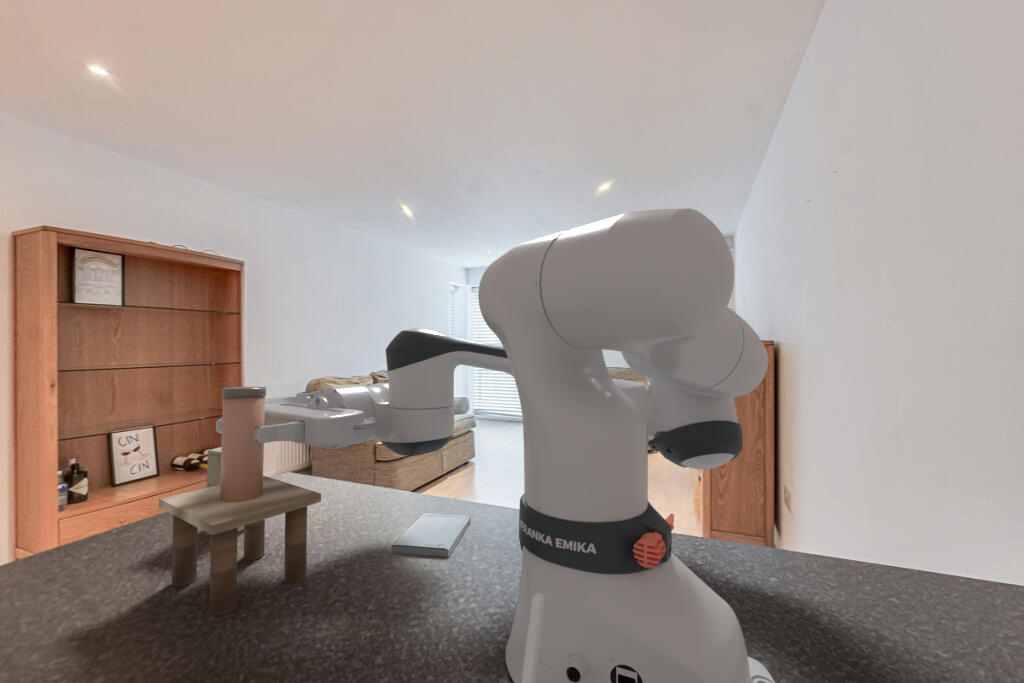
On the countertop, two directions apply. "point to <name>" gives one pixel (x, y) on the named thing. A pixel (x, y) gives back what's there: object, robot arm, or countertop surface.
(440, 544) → the hard drive
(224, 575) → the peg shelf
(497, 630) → the countertop surface
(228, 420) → the spice jar
